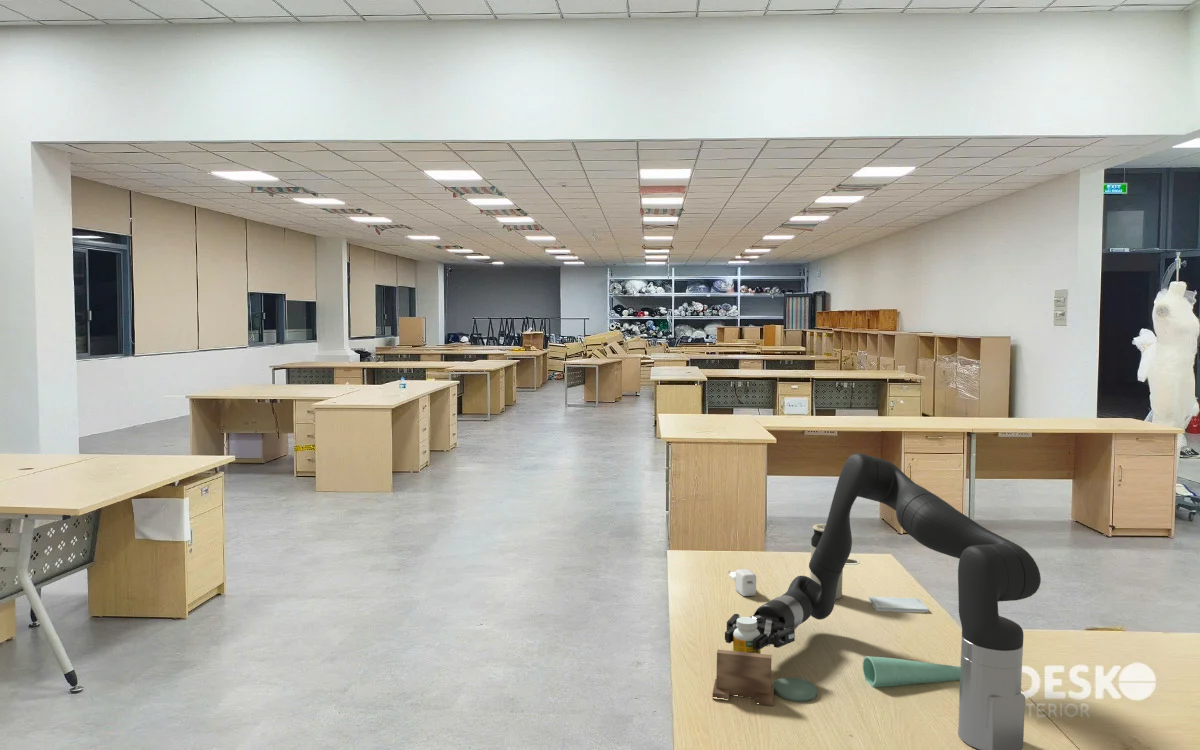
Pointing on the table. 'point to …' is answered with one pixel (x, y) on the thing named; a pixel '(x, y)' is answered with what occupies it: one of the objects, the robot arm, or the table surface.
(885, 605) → the hard drive
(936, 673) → the long green cone
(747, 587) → the power adapter
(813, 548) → the travel mug
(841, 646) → the table surface
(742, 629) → the supplement bottle
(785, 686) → the pad
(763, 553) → the table surface
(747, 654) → the divider
